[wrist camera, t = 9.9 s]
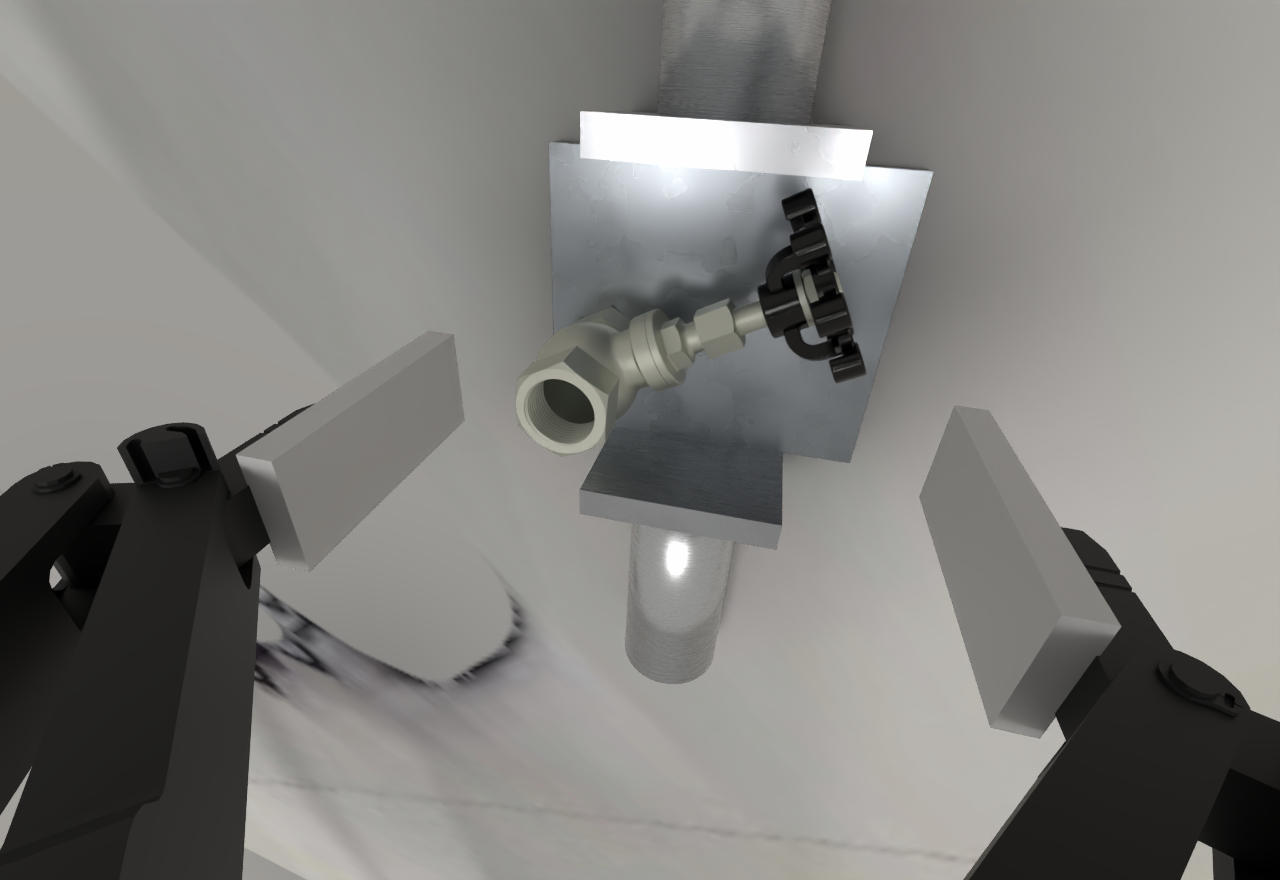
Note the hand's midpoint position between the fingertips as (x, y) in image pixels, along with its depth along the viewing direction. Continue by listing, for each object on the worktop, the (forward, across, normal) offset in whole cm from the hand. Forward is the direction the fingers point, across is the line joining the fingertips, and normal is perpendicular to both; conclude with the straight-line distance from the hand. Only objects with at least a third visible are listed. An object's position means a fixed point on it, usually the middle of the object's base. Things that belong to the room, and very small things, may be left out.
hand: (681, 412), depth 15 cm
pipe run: (+11, 0, -1) cm, 11 cm away
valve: (+10, -1, -1) cm, 10 cm away
